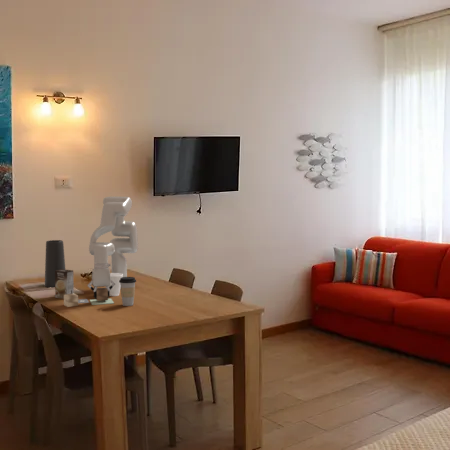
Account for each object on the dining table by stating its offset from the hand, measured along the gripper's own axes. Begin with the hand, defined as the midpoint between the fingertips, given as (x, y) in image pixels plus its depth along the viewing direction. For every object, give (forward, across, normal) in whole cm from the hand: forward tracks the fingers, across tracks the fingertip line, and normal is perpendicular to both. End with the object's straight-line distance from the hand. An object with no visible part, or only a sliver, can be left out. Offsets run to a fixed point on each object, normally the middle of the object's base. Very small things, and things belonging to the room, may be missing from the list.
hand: (101, 297), depth 341 cm
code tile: (+3, +12, -6) cm, 14 cm away
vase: (+3, +22, -60) cm, 64 cm away
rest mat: (+3, 0, 0) cm, 3 cm away
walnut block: (+1, 0, 0) cm, 1 cm away
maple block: (+3, +17, +3) cm, 17 cm away
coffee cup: (+3, -13, +11) cm, 17 cm away
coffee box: (+3, +19, -20) cm, 28 cm away
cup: (+3, -9, -18) cm, 20 cm away
